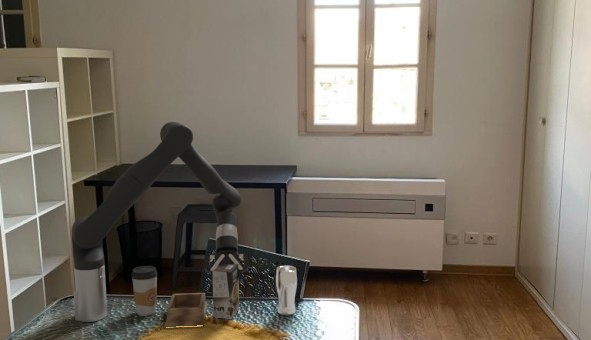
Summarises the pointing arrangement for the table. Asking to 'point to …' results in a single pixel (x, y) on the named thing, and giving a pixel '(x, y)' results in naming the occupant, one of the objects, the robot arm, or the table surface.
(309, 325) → the table surface
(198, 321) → the brown open box holder
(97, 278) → the robot arm
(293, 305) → the beer glass
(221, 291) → the coffee box
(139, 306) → the coffee cup
